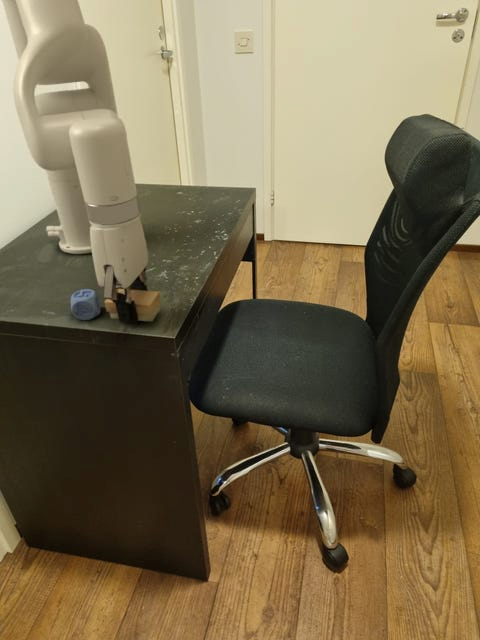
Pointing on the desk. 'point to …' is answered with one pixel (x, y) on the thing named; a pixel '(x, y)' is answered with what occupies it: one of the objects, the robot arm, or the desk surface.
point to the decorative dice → (85, 304)
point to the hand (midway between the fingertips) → (135, 312)
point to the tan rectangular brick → (139, 304)
